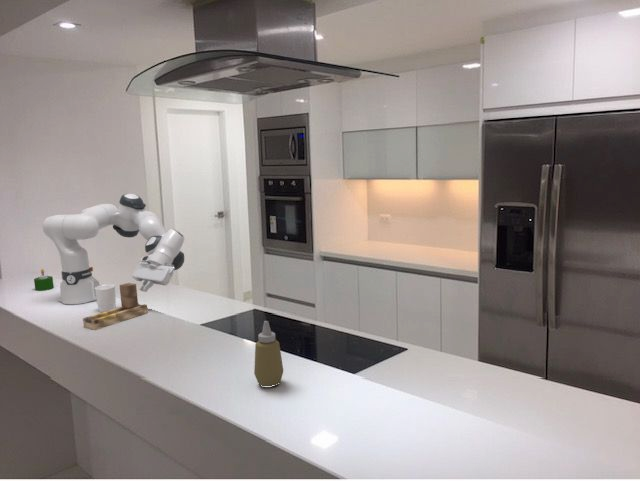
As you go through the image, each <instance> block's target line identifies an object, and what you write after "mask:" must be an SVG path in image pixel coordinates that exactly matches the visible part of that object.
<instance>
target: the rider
mask: <svg viewBox="0 0 640 481" xmlns="http://www.w3.org/2000/svg"><path fill="white" fill-rule="evenodd" d="M137 289H138V288H137V283H132V282H126V283H124V284H119V294H120V302H121V307H124V310H127V309H130V308H133V307H135V306H138V303H139V301H138V300H139V299H138V290H137Z"/></svg>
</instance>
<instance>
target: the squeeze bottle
mask: <svg viewBox="0 0 640 481" xmlns="http://www.w3.org/2000/svg"><path fill="white" fill-rule="evenodd" d="M269 322H270V321H269V320H264V321H263V326H262V332H260V333H259V334H258V335H257V336H258V337H257V338H258V341H257V342H256V343H255V347H254V348H255V350H254V368H253V369H254V372H253V373H254V376H255V379H256V381H257V383H259V384H260V385H262V386H272V385H276V384H278V383H280V384H281V381H282V377H283V374H284V367H283V366H284V365H283V358H282V353H281V346H280V342H279V341H278V340H277V339H276V333H275V332H274V331H272V330H271V327H270V323H269ZM259 384H258V385H259ZM260 385H259V386H260Z"/></svg>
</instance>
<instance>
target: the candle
mask: <svg viewBox="0 0 640 481" xmlns="http://www.w3.org/2000/svg"><path fill="white" fill-rule="evenodd" d="M40 273H41V274H40V275H38V276H37V277H35V278H33V283H34V289H35V291H37V292H45V291H50V290H54V288H55V286H54V278H53V276H50V275H48V274H45V271H44V268H42V269H41V270H40Z"/></svg>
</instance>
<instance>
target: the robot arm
mask: <svg viewBox="0 0 640 481" xmlns="http://www.w3.org/2000/svg"><path fill="white" fill-rule="evenodd" d="M118 203H119V204H118V208H117V207H116V206H115V205H114V204H112V203H101V204H100V203H99V204H97V205H93V206H90V207H87V208H83V209H82V210H81V211H80V212H79V213H76V214H74V213H73V214H55V215H50V216H48V217H46V218H45V219H44V221H43V223H42V230H43V233H44V234H45V236H47V238H49V239H50V240H51V241H52V242H53V243H54V246H55V247H56V249H57V251H58V253H59V257H60V264H61V280H62V281H61V282H60V284H59V288H60V290H59V291H60V292H59V293H60V298H58V299H57V300H58V301H57V302H59V303H62V304H64V305H78V304H79V305H80V304H85V303H90V302H92V301H95V302H96V301H97V299H96V293H95V287H97V286H101V285H100V282H99V281H100V280H98V279H97V278H96V277H95V276H93V273H92V272H93V271H94V267H93V266H90V263H89V254H88V251H87V249H85V248H84V247H82V245H81V244H79V242H78V240H88V239H92V238H95V237H97V235H98V233H99V231H100V230H102V229H104V228H106V227H108V226H111V225H112V228H113V230H115V232H116V233H117V234H118V235H119V236H120V237H124V238H134V237H137V236H138V234H139V233H140V235H141V236H142V237H143V238H144V239H145V240H146V242H145V244H144V249H145V250H144V251H145V253H146V254H148V255H145V256H142V257H141V258H140V262H139V263H138V264H137V265H136V267H135V268H134V270H133V272H132V274H131V277H132V278H133V279H134V280H135V281H136V282H141V284H140V287H139V290H140V291H141V292H144V293H147V292H148V290H149V289H150V288H152V287H153V286H154V285H159V286H167V285H168V284H169V283H170V281H171V280H172V277H173V274H174V271H178V270H180V268H182V267H183V265H184V263H185V253H184V252H183V251H182V249H181V248H182V246H183V244H184V241H185V236H184V235H183V234H182V233H181V232H180V231H178V230H177V229H174V228H170V229H168V231H166V228H165V226H164V225H163V223H162V220H161V218H160V217H159V216H158V215H157V214H156V213H155V212H153V211H150V210H146V209H145V208H146V206H147V204H146V203H144V201H143V199H142V198H141V197H140V196H139V195H137V194H134V193H125V194H123V195H121V196H120V199H119V201H118Z"/></svg>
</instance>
